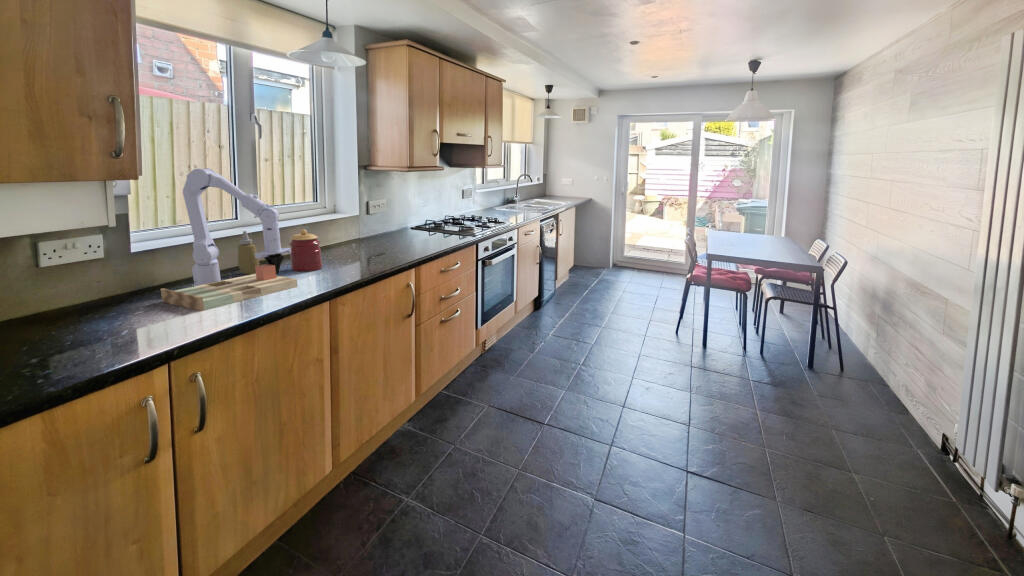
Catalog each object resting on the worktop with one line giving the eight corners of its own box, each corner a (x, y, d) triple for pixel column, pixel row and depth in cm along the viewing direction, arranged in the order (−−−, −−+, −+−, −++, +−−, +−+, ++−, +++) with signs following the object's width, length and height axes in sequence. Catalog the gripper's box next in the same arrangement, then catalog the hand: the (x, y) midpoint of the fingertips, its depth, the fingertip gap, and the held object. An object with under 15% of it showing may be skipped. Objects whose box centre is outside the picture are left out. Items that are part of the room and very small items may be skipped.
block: (256, 278, 190) (255, 266, 189) (268, 276, 195) (267, 263, 193) (264, 280, 188) (262, 267, 187) (276, 278, 192) (275, 265, 191)
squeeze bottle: (254, 270, 219) (249, 229, 215) (264, 272, 214) (259, 231, 210) (235, 273, 213) (230, 231, 208) (245, 276, 208) (239, 233, 204)
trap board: (162, 301, 170) (160, 289, 169) (260, 279, 202) (258, 269, 200) (201, 311, 160) (199, 297, 159) (297, 286, 192) (296, 275, 191)
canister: (293, 266, 227) (289, 228, 223) (323, 265, 230) (320, 227, 226) (289, 272, 215) (285, 232, 210) (321, 271, 218) (317, 231, 214)
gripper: (261, 242, 184) (266, 278, 187) (295, 237, 196) (298, 271, 200) (249, 241, 187) (253, 276, 190) (282, 236, 199) (286, 269, 203)
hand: (275, 273), depth 195 cm, fingers closed
